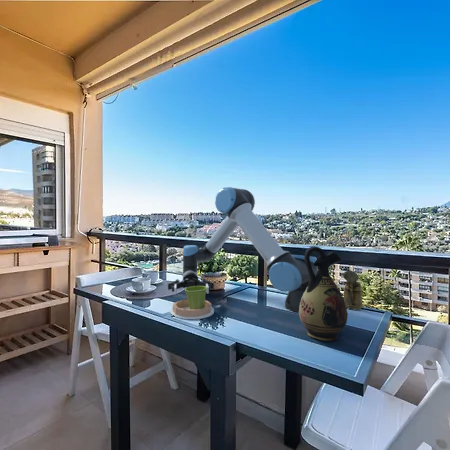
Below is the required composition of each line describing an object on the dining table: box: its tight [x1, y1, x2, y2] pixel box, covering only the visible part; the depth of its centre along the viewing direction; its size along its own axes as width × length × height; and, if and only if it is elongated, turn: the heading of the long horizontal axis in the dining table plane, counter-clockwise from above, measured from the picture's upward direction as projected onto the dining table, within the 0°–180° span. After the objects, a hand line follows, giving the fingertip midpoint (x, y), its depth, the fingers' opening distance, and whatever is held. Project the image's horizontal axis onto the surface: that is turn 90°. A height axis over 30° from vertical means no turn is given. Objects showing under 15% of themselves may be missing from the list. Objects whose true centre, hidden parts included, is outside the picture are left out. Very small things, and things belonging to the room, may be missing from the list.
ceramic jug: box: [298, 246, 349, 342], centre depth 98 cm, size 17×15×30 cm
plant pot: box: [184, 286, 207, 310], centre depth 121 cm, size 9×9×9 cm
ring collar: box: [169, 298, 215, 320], centre depth 120 cm, size 18×18×3 cm
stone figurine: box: [342, 269, 364, 310], centre depth 128 cm, size 9×14×18 cm, turn 147°
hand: (191, 290), depth 122 cm, fingers open, 13 cm apart
